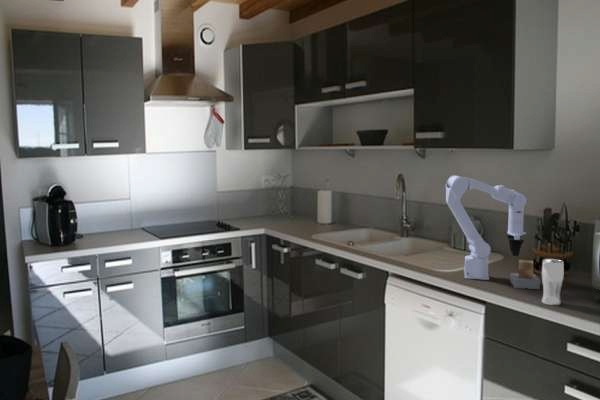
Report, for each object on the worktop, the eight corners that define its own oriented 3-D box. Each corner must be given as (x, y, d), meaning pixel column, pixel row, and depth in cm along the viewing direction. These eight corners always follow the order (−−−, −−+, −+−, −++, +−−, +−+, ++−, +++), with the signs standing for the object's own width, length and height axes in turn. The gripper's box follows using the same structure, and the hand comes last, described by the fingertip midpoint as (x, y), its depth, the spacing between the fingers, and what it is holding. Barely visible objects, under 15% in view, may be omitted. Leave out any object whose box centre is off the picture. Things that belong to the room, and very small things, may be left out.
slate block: (514, 289, 198) (515, 279, 198) (510, 282, 207) (510, 273, 207) (539, 290, 197) (540, 280, 196) (533, 283, 205) (534, 274, 205)
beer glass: (564, 302, 180) (566, 260, 179) (558, 307, 175) (561, 264, 173) (543, 298, 185) (545, 257, 183) (537, 303, 180) (539, 261, 178)
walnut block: (518, 277, 200) (518, 262, 199) (519, 274, 204) (519, 259, 204) (532, 278, 198) (532, 263, 197) (532, 275, 202) (533, 260, 202)
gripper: (528, 224, 203) (527, 258, 205) (524, 219, 217) (522, 250, 219) (509, 223, 205) (508, 257, 207) (506, 218, 219) (505, 249, 221)
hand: (514, 253), depth 213 cm, fingers open, 7 cm apart
